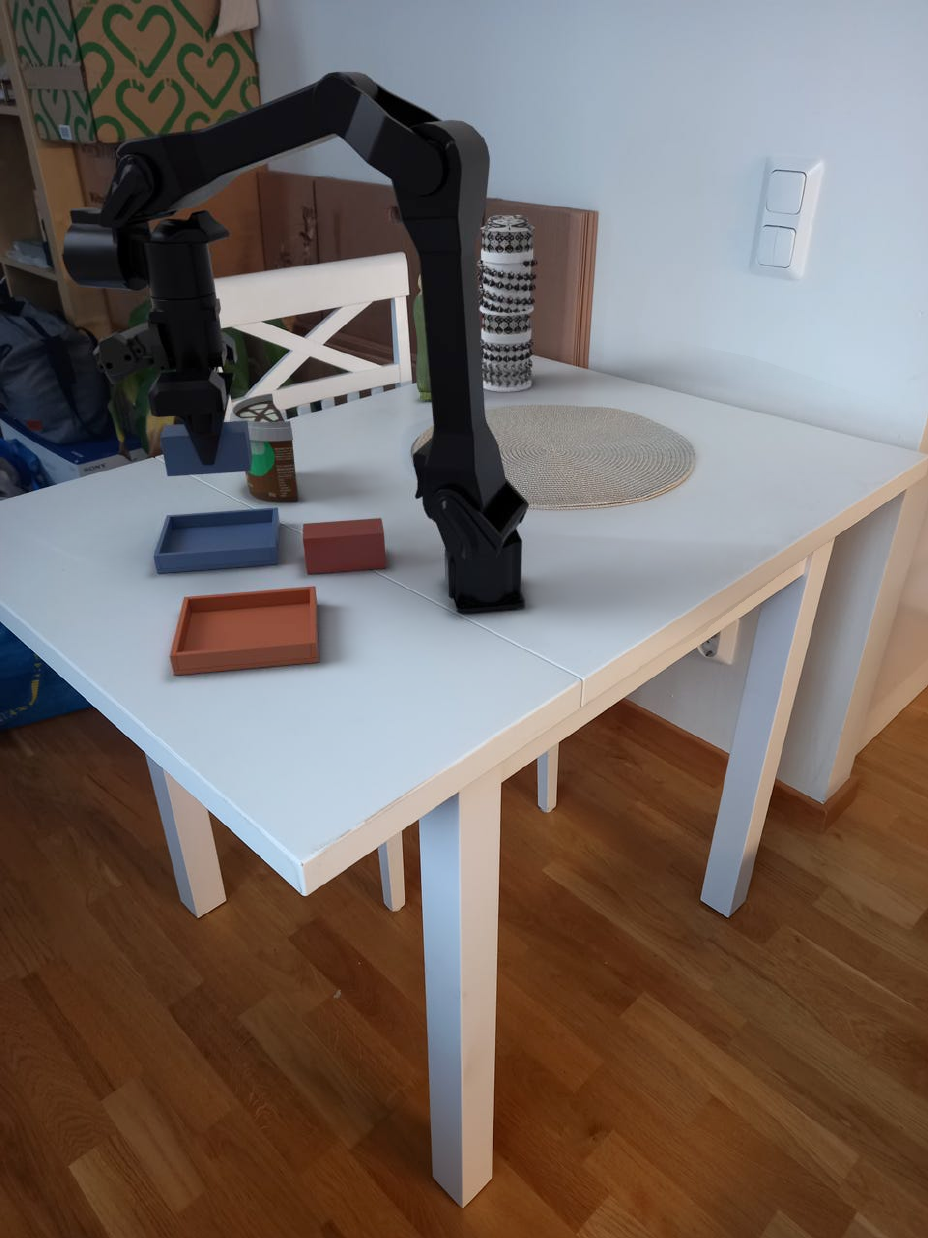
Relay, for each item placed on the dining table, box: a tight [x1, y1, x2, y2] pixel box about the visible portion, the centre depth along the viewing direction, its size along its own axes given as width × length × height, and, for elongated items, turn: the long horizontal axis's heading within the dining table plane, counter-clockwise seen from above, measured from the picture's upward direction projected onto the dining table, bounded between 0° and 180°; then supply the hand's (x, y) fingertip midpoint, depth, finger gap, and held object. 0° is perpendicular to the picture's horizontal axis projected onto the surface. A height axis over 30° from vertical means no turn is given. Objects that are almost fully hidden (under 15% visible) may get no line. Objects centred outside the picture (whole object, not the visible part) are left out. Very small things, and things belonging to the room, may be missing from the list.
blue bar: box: [159, 421, 252, 477], centre depth 88 cm, size 8×4×4 cm, turn 99°
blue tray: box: [153, 507, 281, 574], centre depth 95 cm, size 12×10×2 cm
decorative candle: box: [476, 214, 539, 393], centre depth 139 cm, size 9×9×25 cm
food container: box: [229, 392, 299, 503], centre depth 106 cm, size 12×6×10 cm, turn 21°
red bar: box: [302, 517, 387, 575], centre depth 91 cm, size 8×4×4 cm, turn 99°
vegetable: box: [412, 275, 431, 402], centre depth 133 cm, size 4×4×20 cm
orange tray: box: [169, 585, 320, 676], centre depth 79 cm, size 12×10×2 cm
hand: (210, 457), depth 89 cm, fingers closed on blue bar, 3 cm apart
